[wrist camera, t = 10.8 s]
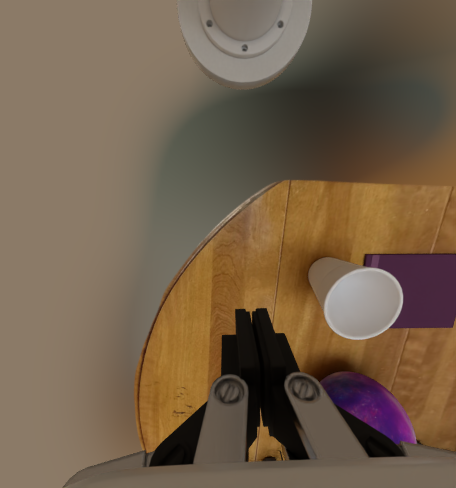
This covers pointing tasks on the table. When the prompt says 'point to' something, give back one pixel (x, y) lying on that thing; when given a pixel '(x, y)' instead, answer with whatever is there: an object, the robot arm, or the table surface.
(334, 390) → the decorative orb
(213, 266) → the table surface
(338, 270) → the cup
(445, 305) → the book
